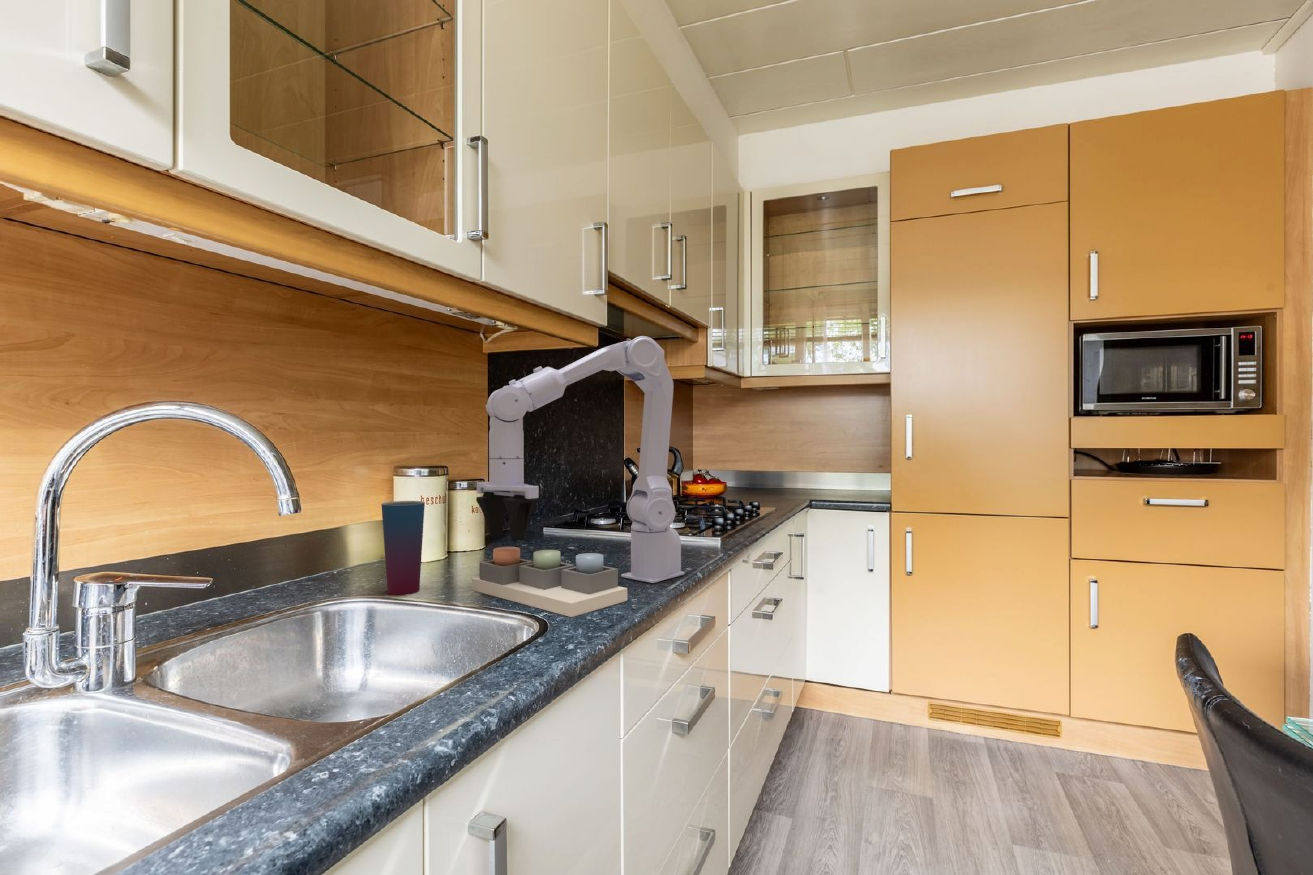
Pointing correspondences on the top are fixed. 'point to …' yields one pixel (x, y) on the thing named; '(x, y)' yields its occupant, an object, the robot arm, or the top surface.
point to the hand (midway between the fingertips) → (506, 538)
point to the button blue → (589, 563)
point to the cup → (403, 545)
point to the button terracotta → (506, 556)
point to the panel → (551, 587)
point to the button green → (546, 559)
